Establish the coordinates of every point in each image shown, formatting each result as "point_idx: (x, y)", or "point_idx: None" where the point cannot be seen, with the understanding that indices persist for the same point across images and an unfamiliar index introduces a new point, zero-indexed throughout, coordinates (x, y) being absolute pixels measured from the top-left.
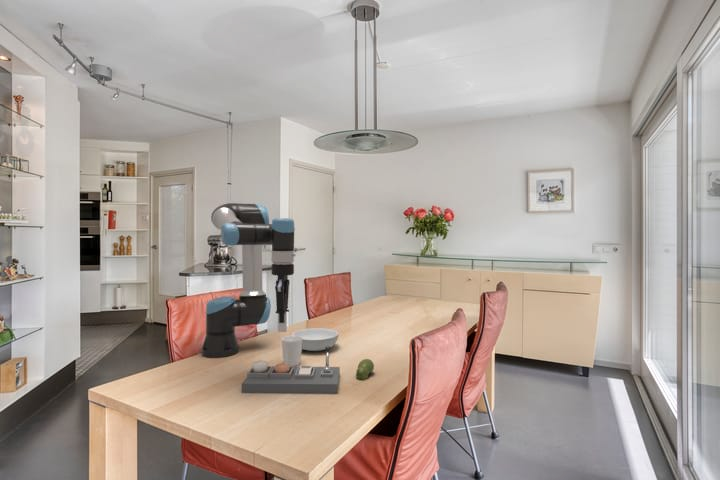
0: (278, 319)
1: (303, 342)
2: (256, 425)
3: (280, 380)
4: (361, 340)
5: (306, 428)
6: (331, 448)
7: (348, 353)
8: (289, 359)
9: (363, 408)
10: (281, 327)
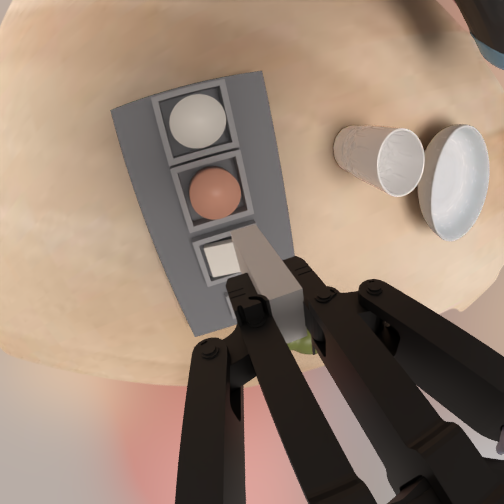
0: (250, 274)
1: (429, 167)
2: (14, 247)
3: (166, 207)
4: (460, 250)
5: (52, 324)
6: (41, 363)
7: (410, 255)
8: (342, 152)
9: (154, 371)
10: (241, 263)
